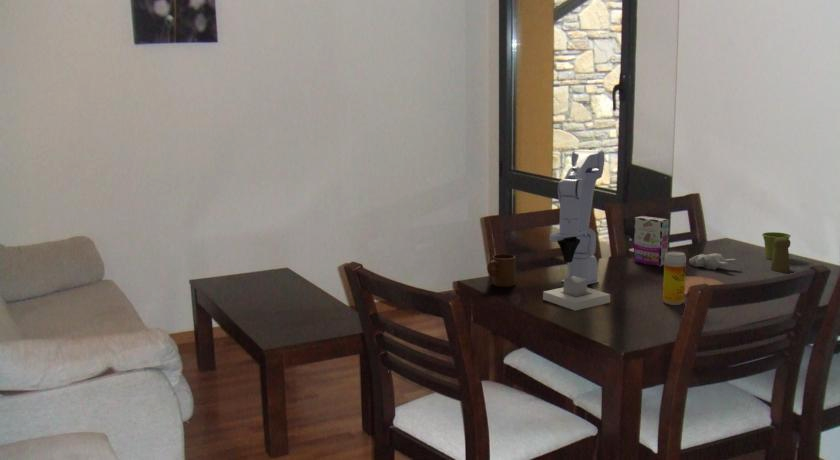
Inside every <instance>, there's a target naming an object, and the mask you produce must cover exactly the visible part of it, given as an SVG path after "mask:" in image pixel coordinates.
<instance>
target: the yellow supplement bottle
mask: <svg viewBox="0 0 840 460" xmlns="http://www.w3.org/2000/svg"><path fill="white" fill-rule="evenodd" d="M686 267H687V256H686V254H685V252H682V251H668V252H667V253H666V255H665V260H664V266H663V287H662V288H663V289H662V300H663V301H664V304H666V305H671V306H679V305H682V304H683V303H684V302H685V292H686V291H685V290H686V273H687V272H686V271H687V268H686Z"/></svg>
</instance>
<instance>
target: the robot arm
mask: <svg viewBox="0 0 840 460" xmlns="http://www.w3.org/2000/svg"><path fill="white" fill-rule="evenodd" d="M570 162H571V167H570V168H569V169H568V170H567V173H566V175H565V177H564V178H562V179H561V180H559V181H558V184H557V197H558V204H559V224H558V225H559V229H558V230H557V232H555V233H552V234H549V242H552V243H557V244H558V246H559V249H560V250H561V253H562V257H563V261H564V263H567V273H566V274H567V277H566V279H567V278H569V277H571V276H576V277H580V278H584V279H587V286H588V285H591V284H595V283H596V284H597V283H599V282H600V280H599V279H598V268H599V267H598V259H597V257H596V256H595V254H596V248H597V234H596V232H595V230H593V229H592V228H590V223H591V214H592V209H593V200H594V194H595V186H596V183H597V181H598V180H599V179H601V178H602V176H603V174H604V168H605V167H604V166H605V152H604V150H603V149H598V150H596V149H577V148H576V149H574V150H573V151H572V153H571V161H570ZM561 282H562V283H564V279H561Z"/></svg>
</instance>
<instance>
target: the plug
mask: <svg viewBox="0 0 840 460" xmlns="http://www.w3.org/2000/svg"><path fill="white" fill-rule="evenodd" d="M563 280H564V282H563V287H564V289H563V294H567V295H569V296H573V297H581V296H584V294H586V293H587V287H588V285H587V279H584V278H580V277H576V276H571V277H569V278H567V277H566V278H564V279H563Z"/></svg>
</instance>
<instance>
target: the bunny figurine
mask: <svg viewBox="0 0 840 460" xmlns="http://www.w3.org/2000/svg"><path fill="white" fill-rule="evenodd" d="M688 263H689V264H690V265H692V266H693V267H695V268H704V269H706V270H713V271H716V270H717V269H721V267H728V266H729V265H730V263H738V259H737V258H726V259H725V258H724V257H723V256H722V254H721V253H716V252H714V253H710V254H704V253H700V254H697V255H695V256H692V257H691V258H689V259H688Z"/></svg>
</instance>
